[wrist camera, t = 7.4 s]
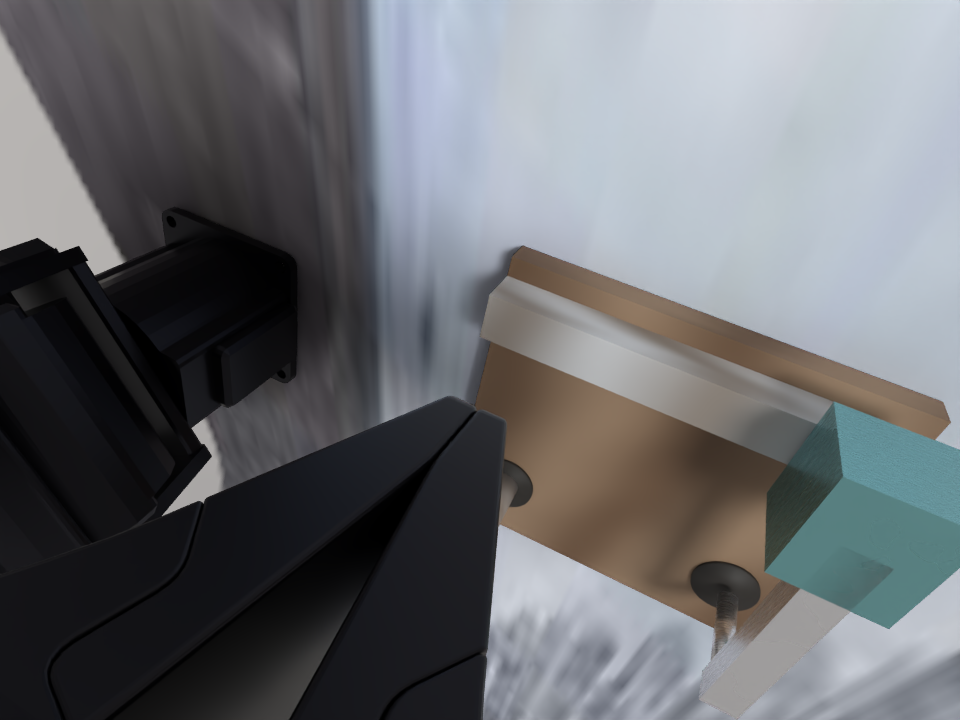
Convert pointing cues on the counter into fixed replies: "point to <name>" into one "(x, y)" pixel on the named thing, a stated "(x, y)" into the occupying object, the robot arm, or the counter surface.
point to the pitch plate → (655, 429)
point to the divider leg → (840, 548)
